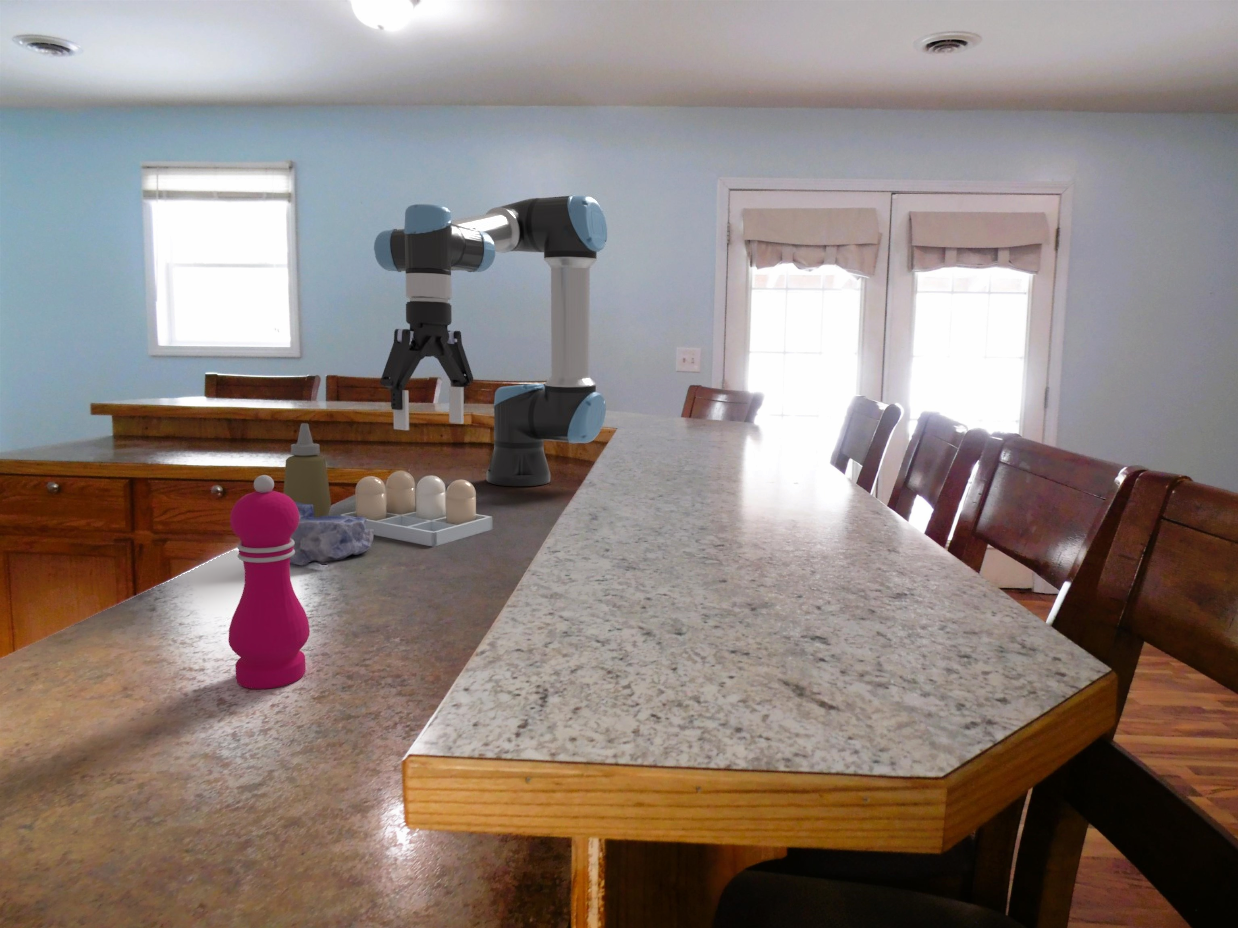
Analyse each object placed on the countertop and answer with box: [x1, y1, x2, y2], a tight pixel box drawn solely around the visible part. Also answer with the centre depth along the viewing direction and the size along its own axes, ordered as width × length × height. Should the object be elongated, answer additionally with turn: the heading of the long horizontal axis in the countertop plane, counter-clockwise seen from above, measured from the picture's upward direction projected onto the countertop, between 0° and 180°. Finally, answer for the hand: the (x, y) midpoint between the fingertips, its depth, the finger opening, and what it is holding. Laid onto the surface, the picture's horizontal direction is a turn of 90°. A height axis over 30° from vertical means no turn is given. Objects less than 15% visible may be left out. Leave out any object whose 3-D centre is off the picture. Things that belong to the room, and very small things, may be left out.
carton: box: [337, 503, 494, 548], centre depth 136 cm, size 15×22×3 cm
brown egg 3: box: [445, 479, 477, 525], centre depth 135 cm, size 5×5×9 cm
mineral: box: [290, 502, 374, 566], centre depth 118 cm, size 14×10×10 cm
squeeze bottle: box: [282, 423, 332, 518], centre depth 138 cm, size 8×8×18 cm
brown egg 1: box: [355, 475, 386, 521], centre depth 136 cm, size 5×5×9 cm
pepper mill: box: [228, 474, 310, 690], centre depth 76 cm, size 7×7×20 cm
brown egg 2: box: [385, 470, 416, 515], centre depth 142 cm, size 5×5×9 cm
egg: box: [415, 474, 447, 520], centre depth 138 cm, size 5×5×9 cm
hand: (430, 426), depth 137 cm, fingers open, 13 cm apart
